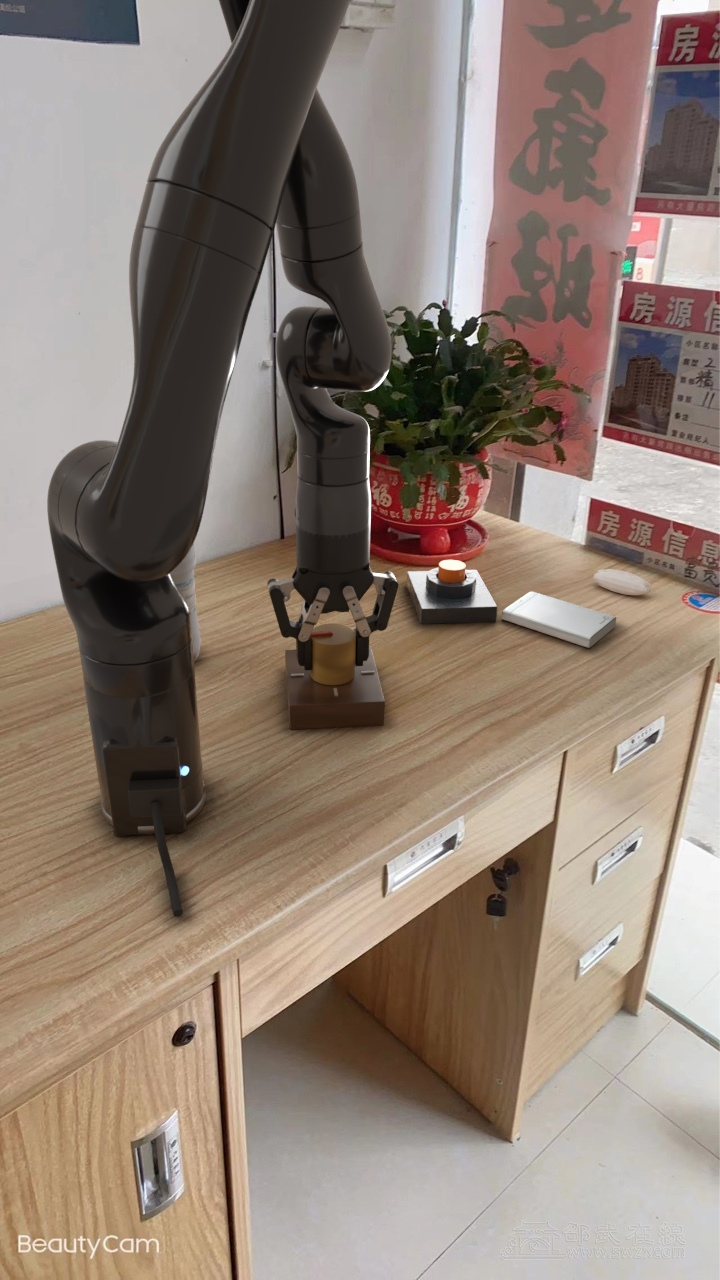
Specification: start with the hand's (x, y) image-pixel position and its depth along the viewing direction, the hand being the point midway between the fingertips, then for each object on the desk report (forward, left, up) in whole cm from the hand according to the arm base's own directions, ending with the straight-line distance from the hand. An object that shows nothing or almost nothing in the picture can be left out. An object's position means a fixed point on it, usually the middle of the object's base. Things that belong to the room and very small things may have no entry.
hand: (332, 664), depth 97 cm
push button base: (+23, -18, -4) cm, 29 cm away
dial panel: (0, 0, -4) cm, 4 cm away
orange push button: (+23, -18, -1) cm, 29 cm away
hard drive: (+16, -31, -4) cm, 35 cm away
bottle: (+10, +18, -4) cm, 21 cm away
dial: (0, 0, -1) cm, 1 cm away
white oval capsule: (+25, -43, -4) cm, 50 cm away
